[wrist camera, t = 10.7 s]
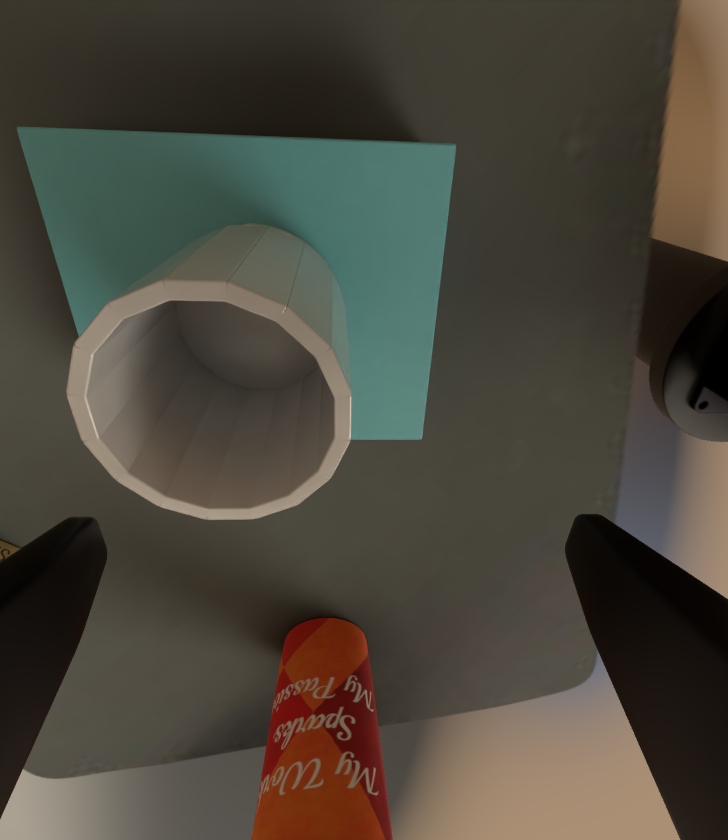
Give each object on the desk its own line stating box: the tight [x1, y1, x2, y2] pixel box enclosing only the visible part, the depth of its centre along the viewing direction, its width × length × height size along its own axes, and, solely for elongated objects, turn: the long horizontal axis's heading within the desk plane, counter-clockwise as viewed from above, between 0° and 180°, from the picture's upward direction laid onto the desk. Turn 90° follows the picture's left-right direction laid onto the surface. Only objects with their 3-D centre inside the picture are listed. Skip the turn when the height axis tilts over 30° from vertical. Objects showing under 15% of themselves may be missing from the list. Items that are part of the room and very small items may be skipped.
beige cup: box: [66, 223, 352, 520], centre depth 13 cm, size 6×6×7 cm
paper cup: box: [252, 618, 393, 840], centre depth 25 cm, size 8×8×14 cm
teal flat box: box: [17, 126, 456, 440], centre depth 18 cm, size 13×11×3 cm
